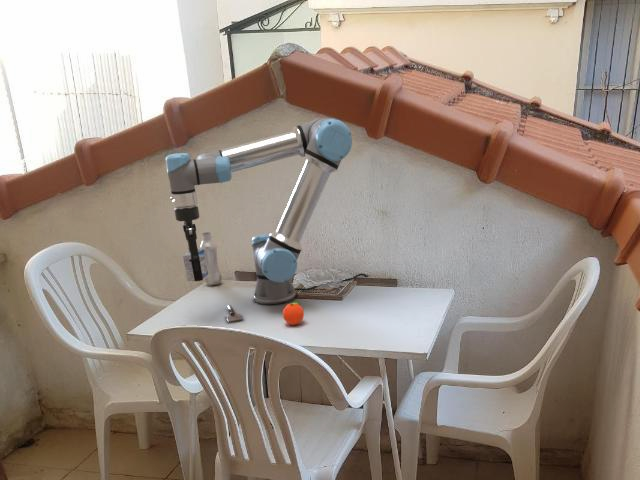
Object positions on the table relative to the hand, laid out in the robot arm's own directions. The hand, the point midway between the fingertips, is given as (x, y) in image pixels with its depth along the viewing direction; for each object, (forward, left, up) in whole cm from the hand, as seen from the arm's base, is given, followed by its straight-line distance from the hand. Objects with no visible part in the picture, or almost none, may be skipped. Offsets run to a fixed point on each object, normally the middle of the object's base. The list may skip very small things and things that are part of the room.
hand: (197, 276), depth 231 cm
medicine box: (0, 0, -1) cm, 1 cm away
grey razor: (-9, -1, -15) cm, 18 cm away
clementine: (-28, +18, -15) cm, 37 cm away
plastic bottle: (-8, -44, -15) cm, 47 cm away
